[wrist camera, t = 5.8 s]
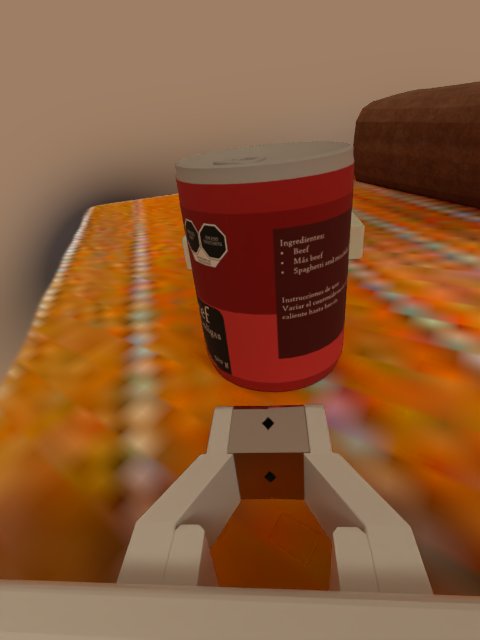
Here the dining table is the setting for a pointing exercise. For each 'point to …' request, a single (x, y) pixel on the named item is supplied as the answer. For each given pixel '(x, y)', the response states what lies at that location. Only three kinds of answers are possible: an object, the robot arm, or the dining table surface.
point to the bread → (423, 143)
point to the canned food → (270, 258)
